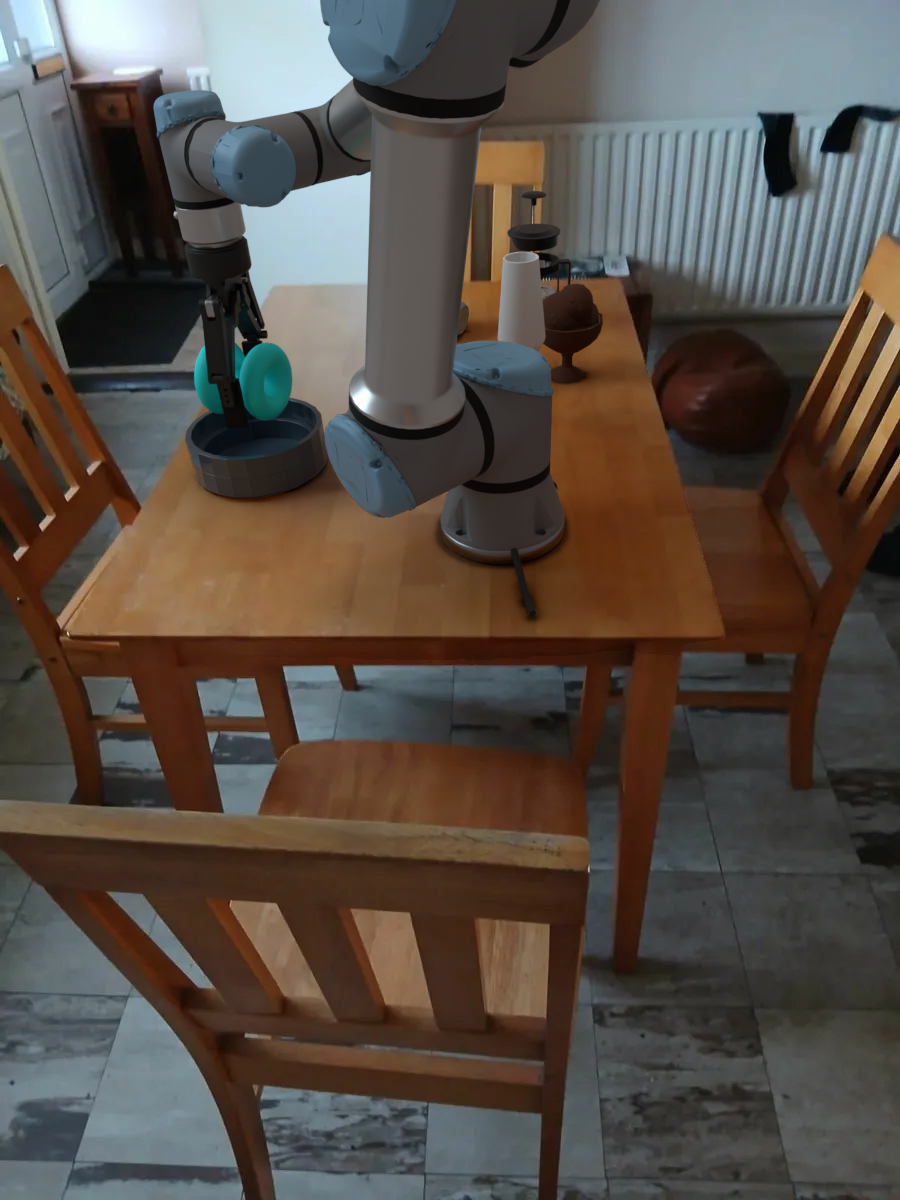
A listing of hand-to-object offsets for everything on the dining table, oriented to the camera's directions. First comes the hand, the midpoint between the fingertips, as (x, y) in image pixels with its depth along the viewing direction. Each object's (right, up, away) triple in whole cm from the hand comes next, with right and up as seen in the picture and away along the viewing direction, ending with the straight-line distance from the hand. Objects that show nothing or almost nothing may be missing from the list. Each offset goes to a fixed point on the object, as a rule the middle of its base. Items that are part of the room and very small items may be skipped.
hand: (249, 405), depth 121 cm
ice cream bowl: (+46, +10, +24) cm, 53 cm away
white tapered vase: (+38, 0, +13) cm, 40 cm away
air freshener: (+26, +22, +41) cm, 53 cm away
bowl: (+1, -7, +6) cm, 10 cm away
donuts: (0, -1, +1) cm, 1 cm away
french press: (+43, +23, +41) cm, 64 cm away
